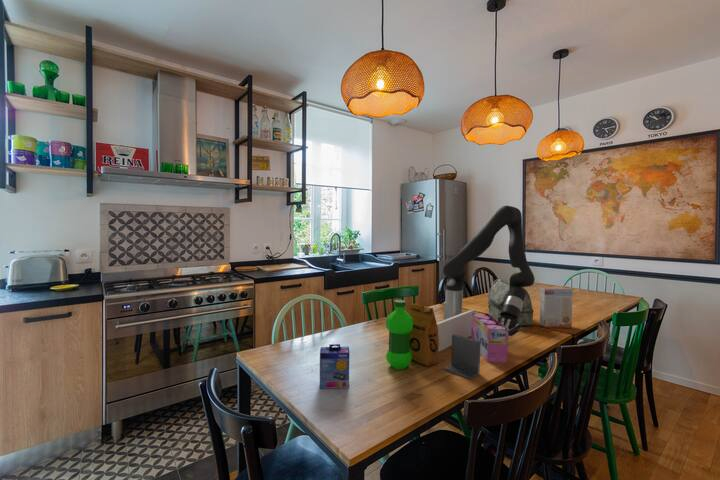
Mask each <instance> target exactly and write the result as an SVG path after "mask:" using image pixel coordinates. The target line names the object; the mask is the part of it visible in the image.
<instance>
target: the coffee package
mask: <svg viewBox="0 0 720 480" xmlns="http://www.w3.org/2000/svg"><path fill="white" fill-rule="evenodd" d="M408 314H409V315H410V316H411V317H412V318H413V328H412V331H411V332H410V351H411V353H412V360H413V361H415V362H417V363H418V364H420V365H424V366H425V367H430V366H433V365H436V364H438V363H439V352H438V349H439V339H438V326H437V323H438V321H437V319H436V316H435V312H434V309H433V307H430V306H426V305H421V304H418V303H413V302H411V304H410V311H409V313H408Z"/></svg>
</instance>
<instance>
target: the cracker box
mask: <svg viewBox="0 0 720 480" xmlns="http://www.w3.org/2000/svg"><path fill="white" fill-rule="evenodd" d="M539 288H540V289H539V290H540V291H539V292H540V293H539V297H540V298H539V325H540V326H542V327H543V328H550V329H553V328H555V329H556V328H557V329H572V327H573V326H572V325H573V324H572V323H573V322H572V321H573V291H574V290H573V289H572V288H570V287H569V286H568V287H567V286H566V287H565V286H540V287H539Z"/></svg>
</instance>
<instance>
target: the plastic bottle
mask: <svg viewBox="0 0 720 480" xmlns="http://www.w3.org/2000/svg"><path fill="white" fill-rule="evenodd" d="M406 305H407V304H406V300H404V299H396V300H394V301H393V307H395V309H394V310H393V311H392V312H391V313H390V314H388V315H387V317H386V320H385V328H386V329H387V330H388V349H387V352H386V355H385V356H386V357H385V358H386V361H387V363H388V364H389V365H390V366H392V368H393V369H395V370H404V369H406V368H407V367H408V366H410V364H411V363H412V360H413V359H412V353H411V351H410V332H411V331H412V328H413V318H412V317H411V316H410V315H409V313H408V312H407V311H406V310H405V307H406Z"/></svg>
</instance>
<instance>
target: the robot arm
mask: <svg viewBox="0 0 720 480" xmlns="http://www.w3.org/2000/svg"><path fill="white" fill-rule="evenodd" d="M505 226H507V228H508V232H509V242H508V257H509V261H510V266H511V267H512V268H518V270H520V271H519V272H515V273H512V274H511V276H510V277H509V281H508V282H509V293H508V296H507V298H506V300H505V302H504V305H503V308H502V310H501V313H500V316H499V317H498V319H496V320H497V321H498V322H500V323H501V324H502V325H504V326H505V327H507V329H508V337H513V336H514V335H516V334H518V333H519V332H520V331H522V330H523V328H522V326H520V325H519V324H518V319H519V316H520V313H521V311H522V307H523V302H524V299H525V296H526V292H525V290H524V289H522V288H521V287H523V288H527V287H531V286H533V285H534V284H535V279H536V278H535V275H534V273H533V271H532V269H531V267H530V265H529V263H528V260H527V256H526V251H525V246H524V245H525V244H524V237H523V218H522V211H521V210H520V209H519V208H517V207H515V206H510V205H503V206H501V207H499V208H498V209H497V210H496V211H495V212H494V214H493V215H492V216H491V218H490V219H489V220H488V221H487V223H486V224H485V225H484V226H483V227H482V228H481V229H480V230H479V231H478V232H477V233H476V234H474V236H473V237H472V238H471V239H470V240H469V241H468V242H467V243H466V244H465V245H464V247H462V248H461V249H460V251H458V253H457V254H456V255H454V256H453V257H452V258H450V260H449V261H447V262H446V263H445V264H444V265H443V270H442V272H443V274H444V276H445V277H446V278H449V280H448V281H447V282H446V284H445V301H444V302H443V320H446V319H448V318H451V317H453V316H456V315H459V314H461V313H463V299H464V298H463V292H464V291H463V289H464V285H465V281H466V280H465V279H466V268H465V266H466V265H467V264H469V263H470V262H472V261H474V260H475V259H477V258H478V257H480V256H481V255H483V253H485V252H486V251H487V250H488V249H489V248H490V246H491V245H492V243H493V241H494V239H495V236H496V235H497V234H498V232H500V230H501V229H503V228H504V227H505Z"/></svg>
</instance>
